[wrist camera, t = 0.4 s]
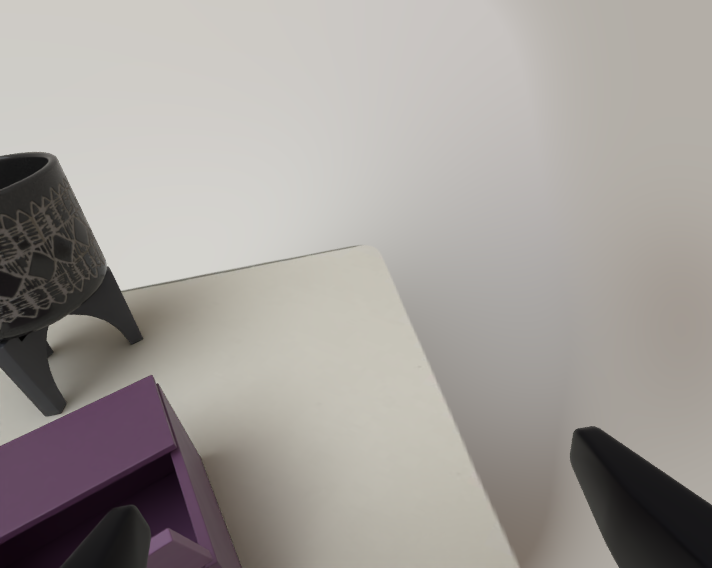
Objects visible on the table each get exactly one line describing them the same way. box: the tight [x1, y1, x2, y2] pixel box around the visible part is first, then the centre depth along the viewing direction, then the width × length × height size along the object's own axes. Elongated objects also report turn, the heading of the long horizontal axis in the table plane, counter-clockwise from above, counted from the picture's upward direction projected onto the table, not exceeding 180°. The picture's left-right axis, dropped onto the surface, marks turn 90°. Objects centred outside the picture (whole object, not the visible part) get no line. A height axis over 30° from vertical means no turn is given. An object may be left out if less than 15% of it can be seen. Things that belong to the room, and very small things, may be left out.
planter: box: [0, 152, 143, 416], centre depth 35 cm, size 13×13×18 cm
